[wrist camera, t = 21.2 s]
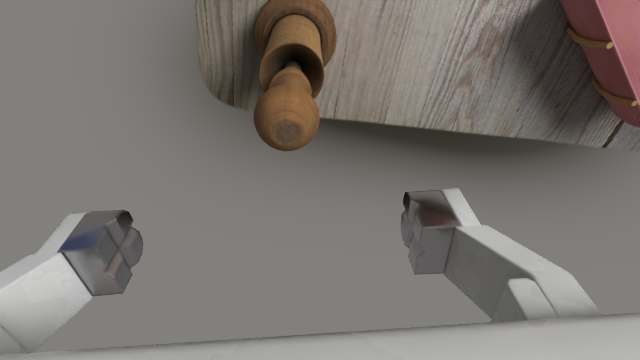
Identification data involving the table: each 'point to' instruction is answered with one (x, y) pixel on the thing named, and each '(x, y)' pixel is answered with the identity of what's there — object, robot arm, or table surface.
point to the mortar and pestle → (291, 69)
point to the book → (610, 50)
